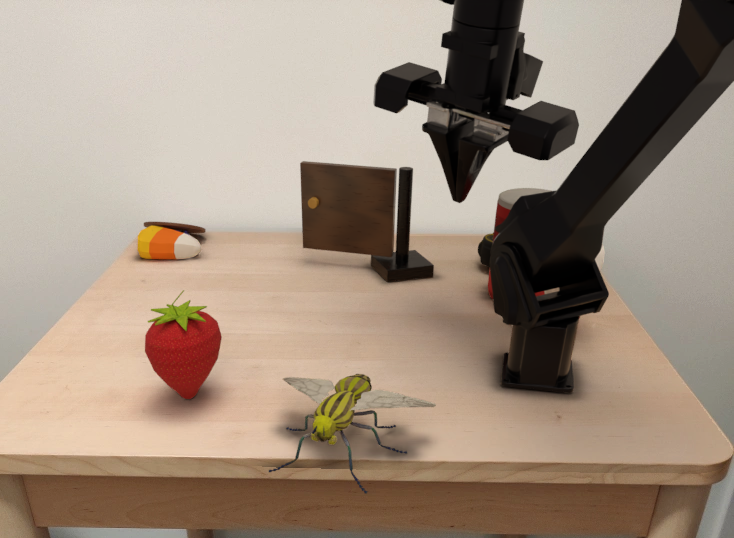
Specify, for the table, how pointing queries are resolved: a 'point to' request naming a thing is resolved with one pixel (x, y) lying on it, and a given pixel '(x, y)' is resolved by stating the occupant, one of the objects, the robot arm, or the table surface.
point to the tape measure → (485, 249)
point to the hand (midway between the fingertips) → (458, 200)
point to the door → (348, 208)
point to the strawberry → (183, 346)
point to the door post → (403, 241)
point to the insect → (346, 408)
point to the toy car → (177, 227)
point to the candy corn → (166, 244)
